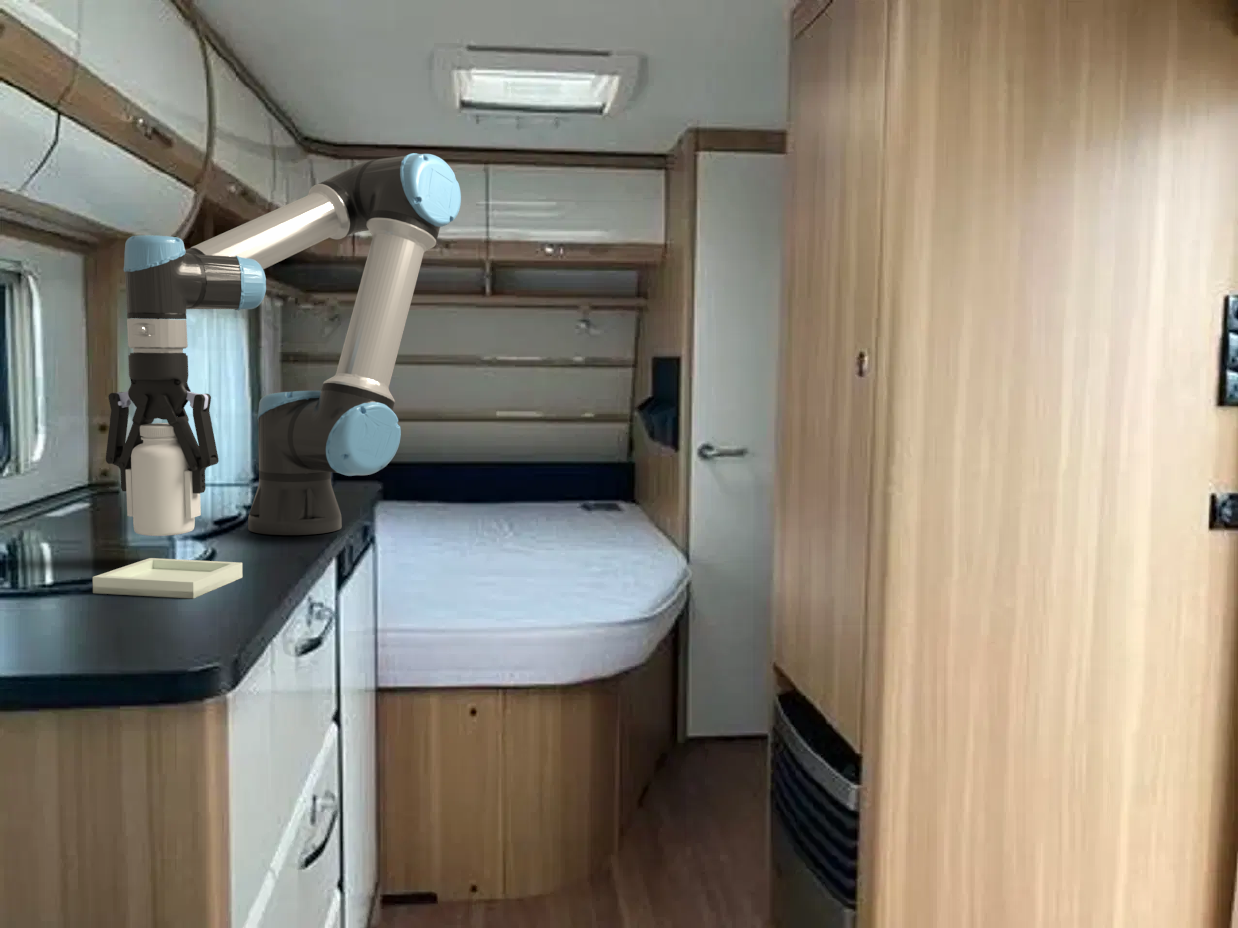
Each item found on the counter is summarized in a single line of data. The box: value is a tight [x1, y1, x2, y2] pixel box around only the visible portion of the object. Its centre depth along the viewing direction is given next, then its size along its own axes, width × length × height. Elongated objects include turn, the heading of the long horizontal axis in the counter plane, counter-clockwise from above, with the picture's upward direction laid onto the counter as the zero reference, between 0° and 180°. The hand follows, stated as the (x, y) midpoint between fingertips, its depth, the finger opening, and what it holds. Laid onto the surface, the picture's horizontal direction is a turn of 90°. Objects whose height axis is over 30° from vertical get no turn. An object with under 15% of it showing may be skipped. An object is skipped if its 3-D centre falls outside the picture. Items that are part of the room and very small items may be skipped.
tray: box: [92, 557, 243, 599], centre depth 141 cm, size 13×13×2 cm
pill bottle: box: [131, 422, 196, 537], centre depth 153 cm, size 8×8×15 cm
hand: (164, 515), depth 154 cm, fingers closed on pill bottle, 8 cm apart
